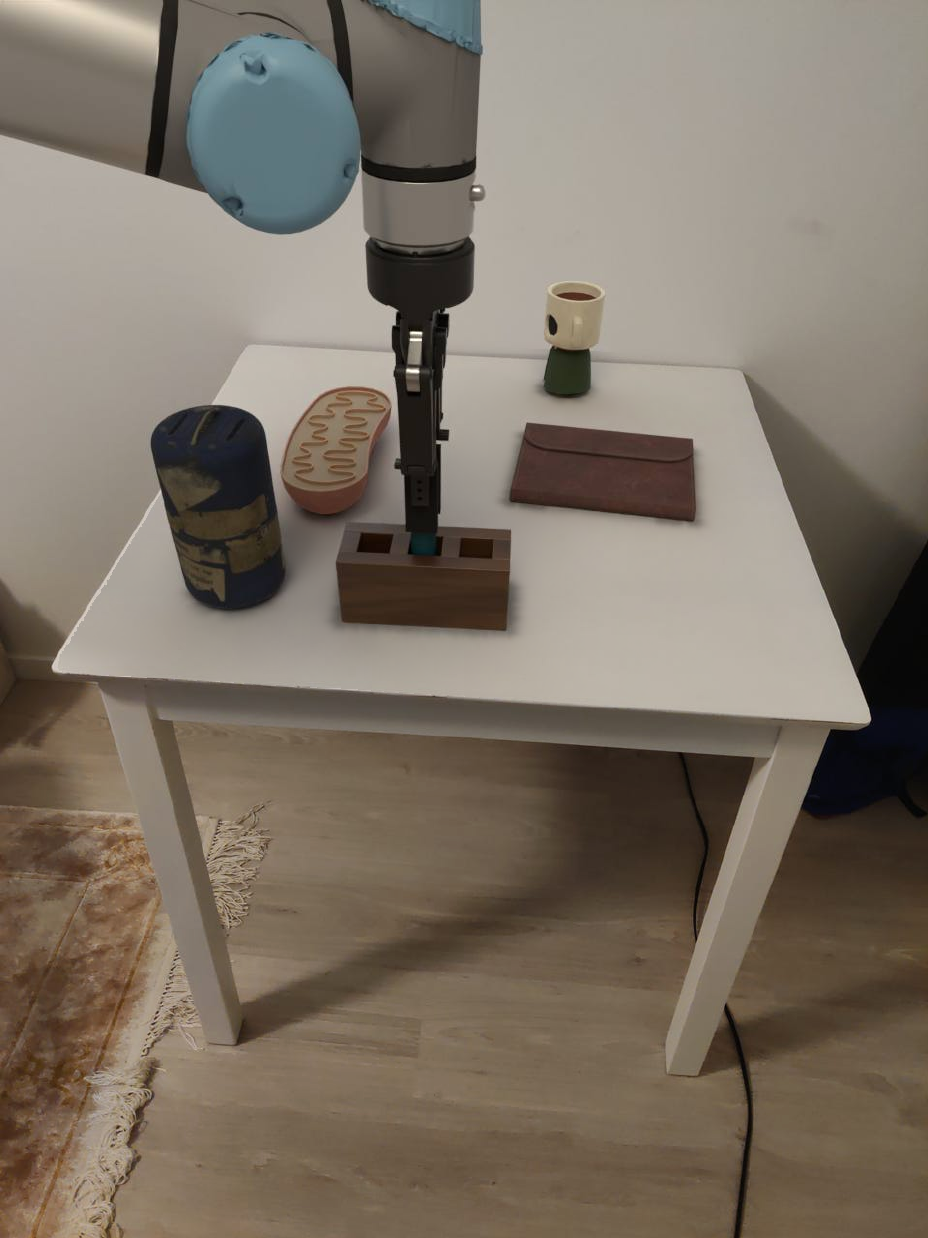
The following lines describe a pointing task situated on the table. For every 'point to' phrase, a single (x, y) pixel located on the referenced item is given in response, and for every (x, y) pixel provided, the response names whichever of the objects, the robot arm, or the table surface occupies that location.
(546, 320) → the character mug
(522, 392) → the table surface
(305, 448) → the anatomical model
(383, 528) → the pen holder
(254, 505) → the canister
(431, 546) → the pen
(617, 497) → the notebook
